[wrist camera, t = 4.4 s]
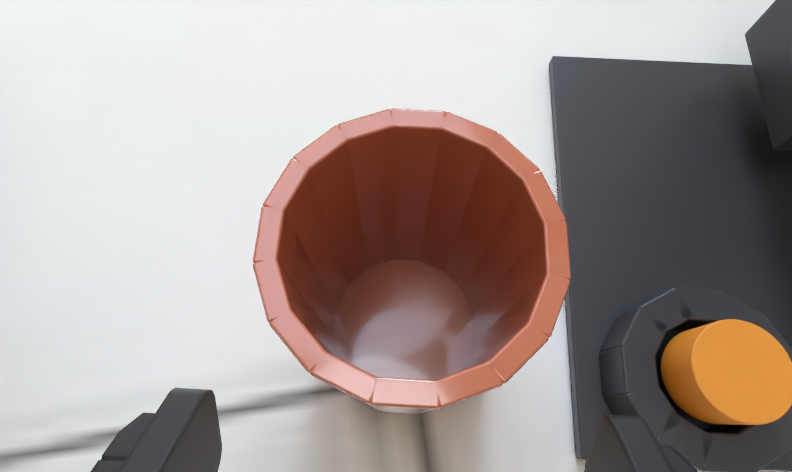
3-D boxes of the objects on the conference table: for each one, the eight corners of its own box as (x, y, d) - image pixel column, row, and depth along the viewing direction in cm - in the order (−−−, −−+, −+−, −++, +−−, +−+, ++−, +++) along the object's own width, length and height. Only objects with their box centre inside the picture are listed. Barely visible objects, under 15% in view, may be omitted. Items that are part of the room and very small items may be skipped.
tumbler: (291, 323, 20) (192, 229, 10) (408, 225, 21) (420, 61, 12) (397, 450, 18) (401, 488, 8) (515, 335, 20) (635, 252, 10)
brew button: (762, 426, 16) (808, 427, 15) (666, 421, 17) (700, 421, 15) (743, 331, 18) (784, 321, 16) (654, 326, 18) (684, 316, 16)
